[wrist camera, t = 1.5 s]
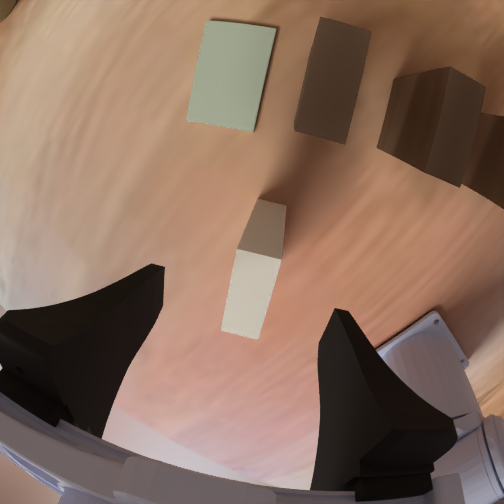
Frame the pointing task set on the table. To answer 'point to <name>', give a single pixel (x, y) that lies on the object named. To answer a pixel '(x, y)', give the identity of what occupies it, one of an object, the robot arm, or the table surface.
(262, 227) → the domino
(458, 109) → the domino
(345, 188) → the table surface
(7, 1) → the flower pot
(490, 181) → the domino
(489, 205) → the table surface
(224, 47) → the pad
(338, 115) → the domino
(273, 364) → the table surface
